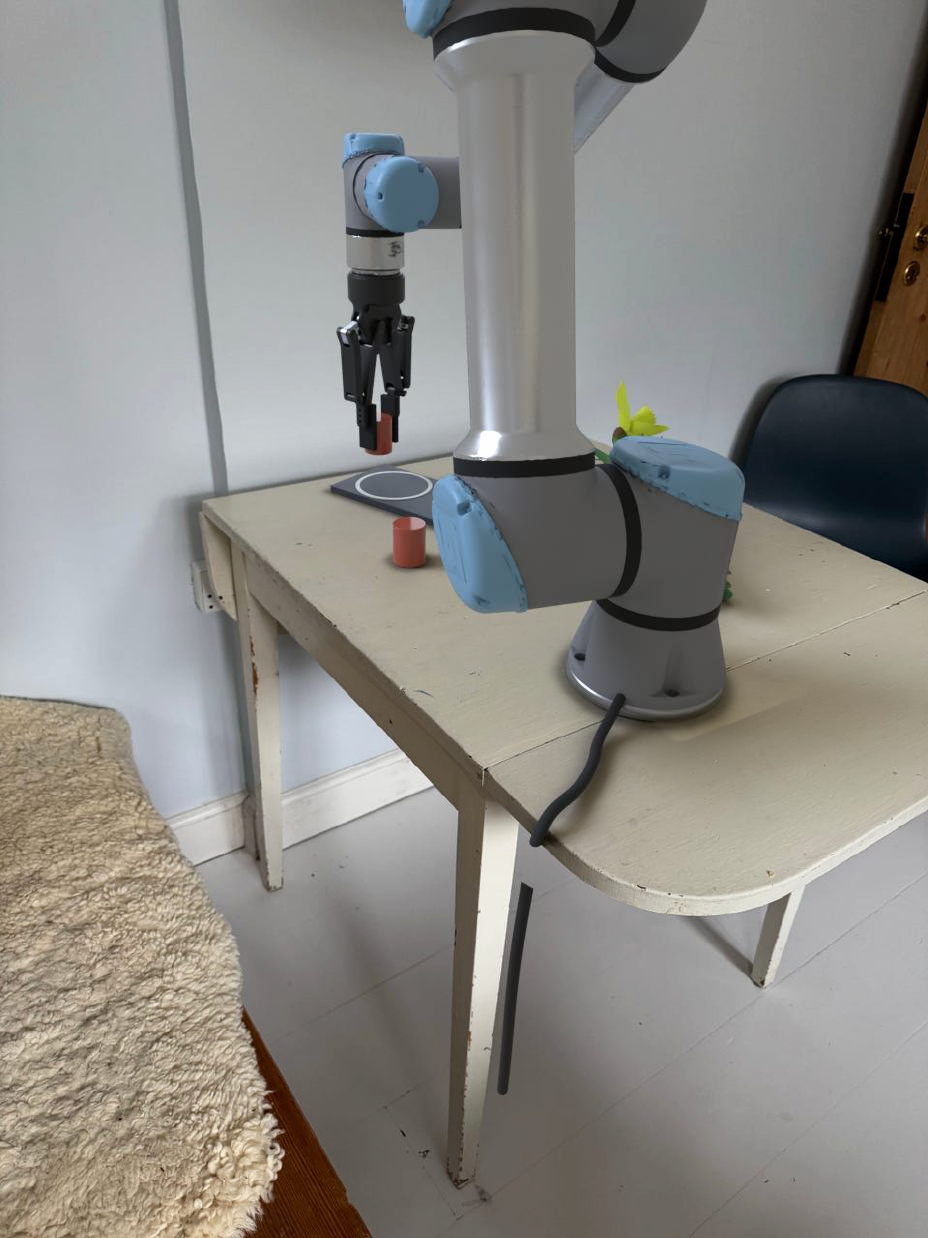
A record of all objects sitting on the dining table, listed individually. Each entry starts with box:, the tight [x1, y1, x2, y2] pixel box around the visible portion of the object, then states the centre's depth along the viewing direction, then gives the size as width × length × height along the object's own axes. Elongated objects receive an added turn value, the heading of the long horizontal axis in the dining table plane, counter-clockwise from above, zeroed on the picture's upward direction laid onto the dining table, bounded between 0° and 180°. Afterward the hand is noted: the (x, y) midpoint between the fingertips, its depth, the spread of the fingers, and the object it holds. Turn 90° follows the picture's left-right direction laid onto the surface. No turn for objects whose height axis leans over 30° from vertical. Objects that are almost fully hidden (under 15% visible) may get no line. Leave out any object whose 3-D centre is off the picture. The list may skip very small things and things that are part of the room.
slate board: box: [330, 463, 439, 527], centre depth 120 cm, size 12×24×1 cm, turn 54°
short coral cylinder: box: [364, 412, 393, 456], centre depth 120 cm, size 4×4×5 cm
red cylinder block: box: [392, 516, 427, 569], centre depth 102 cm, size 4×4×5 cm
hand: (379, 443), depth 121 cm, fingers closed on short coral cylinder, 4 cm apart
